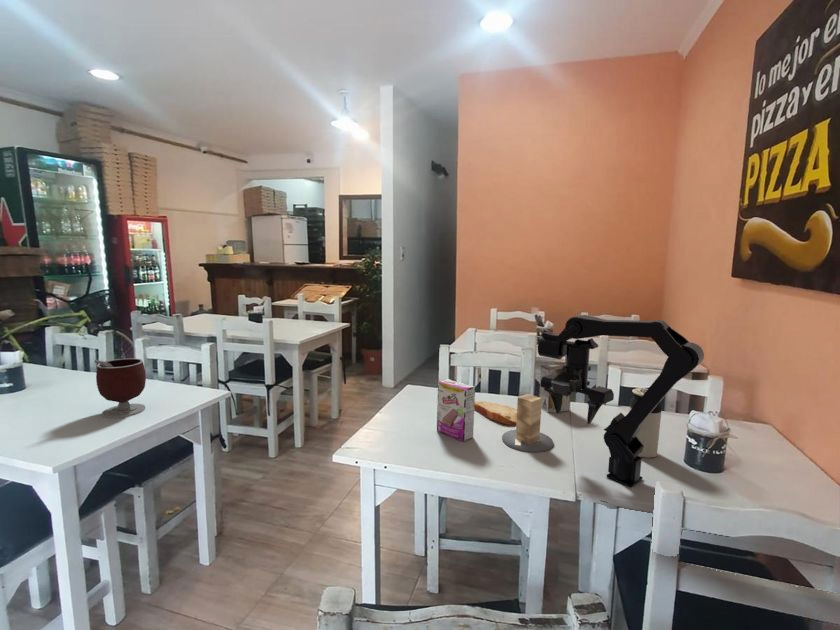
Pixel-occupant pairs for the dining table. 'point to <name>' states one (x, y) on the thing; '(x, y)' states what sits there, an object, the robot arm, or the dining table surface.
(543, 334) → the robot arm
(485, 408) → the slice of bread
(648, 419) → the travel mug
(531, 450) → the letter board
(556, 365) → the coffee box
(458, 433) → the candy bar box
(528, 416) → the oak block
